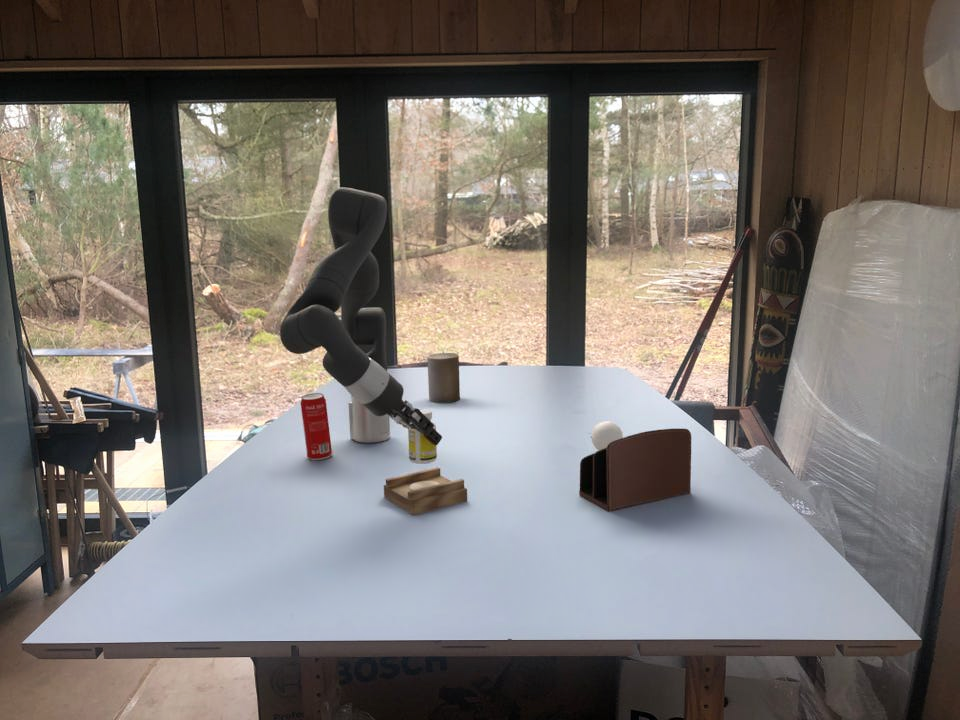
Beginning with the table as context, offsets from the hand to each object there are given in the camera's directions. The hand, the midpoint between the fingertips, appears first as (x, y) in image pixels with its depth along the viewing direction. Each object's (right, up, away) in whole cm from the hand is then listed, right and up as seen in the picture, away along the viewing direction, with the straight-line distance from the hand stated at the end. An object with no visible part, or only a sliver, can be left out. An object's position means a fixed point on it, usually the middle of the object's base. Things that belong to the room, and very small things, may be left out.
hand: (430, 437), depth 148 cm
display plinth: (-1, -12, +1) cm, 12 cm away
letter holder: (+40, -12, +1) cm, 42 cm away
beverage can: (-28, -8, +30) cm, 42 cm away
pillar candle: (-1, +3, +84) cm, 85 cm away
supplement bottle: (-1, -5, 0) cm, 5 cm away
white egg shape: (+38, -6, +29) cm, 49 cm away
